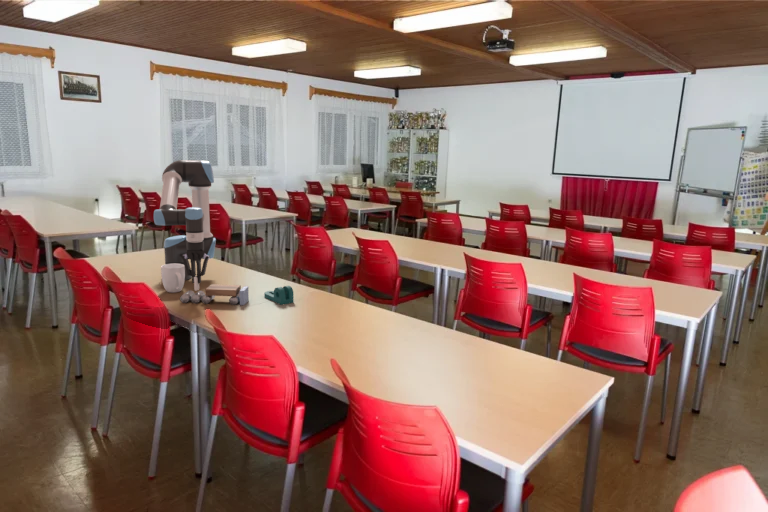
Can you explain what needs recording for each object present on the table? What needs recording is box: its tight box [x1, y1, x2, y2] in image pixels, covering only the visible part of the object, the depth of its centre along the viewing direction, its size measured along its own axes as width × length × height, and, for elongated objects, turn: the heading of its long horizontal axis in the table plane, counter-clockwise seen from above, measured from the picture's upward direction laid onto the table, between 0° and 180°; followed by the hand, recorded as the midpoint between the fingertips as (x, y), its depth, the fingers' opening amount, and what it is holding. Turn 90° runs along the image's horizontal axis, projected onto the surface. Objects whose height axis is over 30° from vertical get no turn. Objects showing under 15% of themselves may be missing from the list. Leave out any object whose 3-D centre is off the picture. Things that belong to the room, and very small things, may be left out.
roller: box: [228, 293, 240, 306], centre depth 243 cm, size 8×4×4 cm, turn 0°
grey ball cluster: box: [179, 289, 216, 305], centre depth 243 cm, size 8×14×4 cm, turn 90°
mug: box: [160, 263, 186, 293], centre depth 256 cm, size 15×11×13 cm
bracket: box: [263, 285, 294, 306], centre depth 250 cm, size 18×7×8 cm, turn 43°
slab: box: [204, 283, 242, 297], centre depth 242 cm, size 9×14×3 cm, turn 90°
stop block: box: [239, 285, 249, 306], centre depth 243 cm, size 8×2×7 cm, turn 0°
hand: (196, 289), depth 242 cm, fingers closed
